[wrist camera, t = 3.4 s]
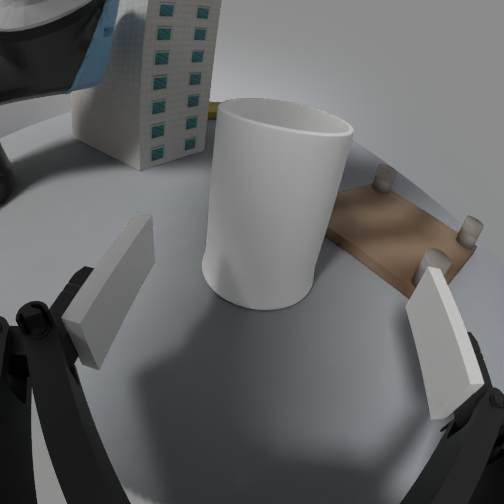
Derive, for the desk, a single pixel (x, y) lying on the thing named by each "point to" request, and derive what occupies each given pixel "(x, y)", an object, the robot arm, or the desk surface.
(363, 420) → the desk surface
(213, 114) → the yellow square slab
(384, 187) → the board with corner pegs
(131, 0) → the building model
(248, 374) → the desk surface
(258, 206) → the mug
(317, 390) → the desk surface
